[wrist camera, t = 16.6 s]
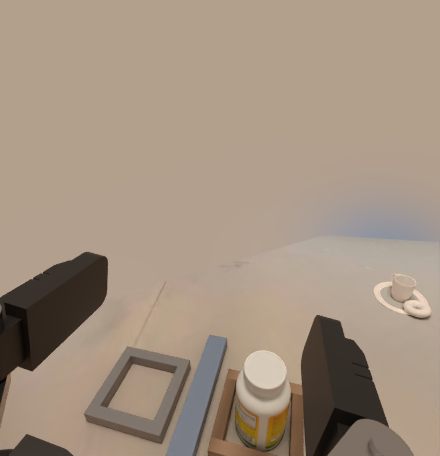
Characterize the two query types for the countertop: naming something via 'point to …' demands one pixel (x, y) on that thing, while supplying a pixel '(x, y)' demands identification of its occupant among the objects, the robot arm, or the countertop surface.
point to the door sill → (198, 400)
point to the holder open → (130, 422)
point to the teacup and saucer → (404, 296)
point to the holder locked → (229, 452)
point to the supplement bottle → (262, 400)
